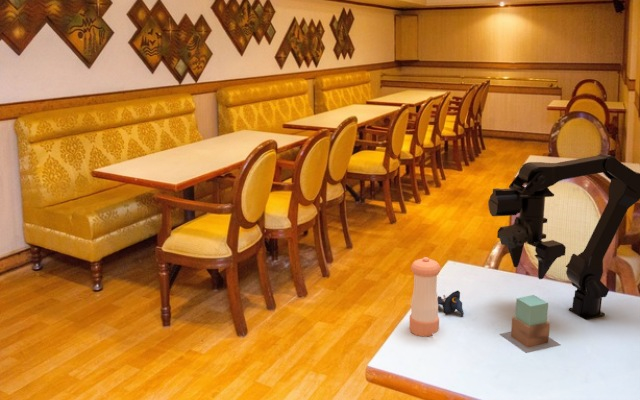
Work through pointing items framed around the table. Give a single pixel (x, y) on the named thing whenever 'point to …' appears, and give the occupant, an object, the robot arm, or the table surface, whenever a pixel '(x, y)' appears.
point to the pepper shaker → (424, 298)
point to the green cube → (531, 310)
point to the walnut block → (530, 333)
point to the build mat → (533, 348)
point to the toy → (451, 303)
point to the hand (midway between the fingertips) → (527, 272)
